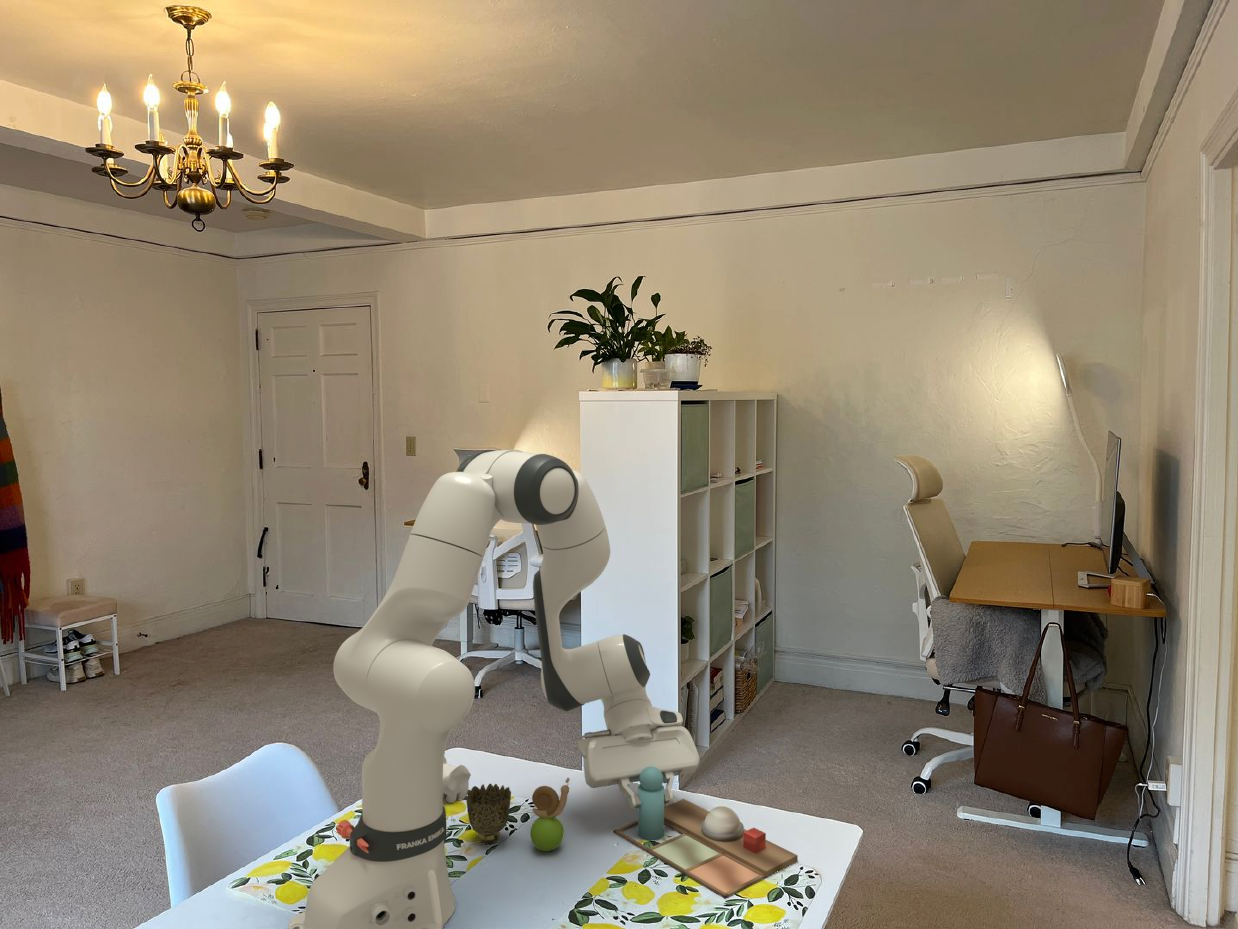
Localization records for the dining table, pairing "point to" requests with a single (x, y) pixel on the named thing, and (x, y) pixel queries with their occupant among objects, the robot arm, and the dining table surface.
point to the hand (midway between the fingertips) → (652, 804)
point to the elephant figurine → (455, 781)
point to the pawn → (651, 804)
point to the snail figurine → (548, 817)
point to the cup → (488, 811)
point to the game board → (715, 848)
